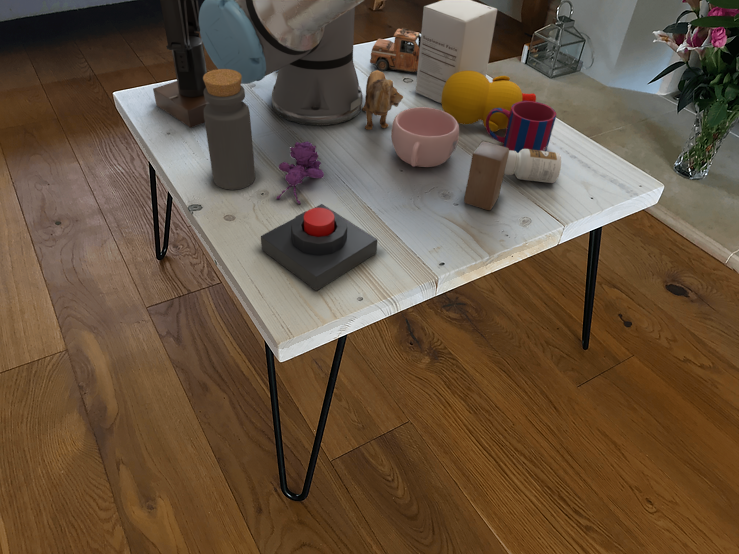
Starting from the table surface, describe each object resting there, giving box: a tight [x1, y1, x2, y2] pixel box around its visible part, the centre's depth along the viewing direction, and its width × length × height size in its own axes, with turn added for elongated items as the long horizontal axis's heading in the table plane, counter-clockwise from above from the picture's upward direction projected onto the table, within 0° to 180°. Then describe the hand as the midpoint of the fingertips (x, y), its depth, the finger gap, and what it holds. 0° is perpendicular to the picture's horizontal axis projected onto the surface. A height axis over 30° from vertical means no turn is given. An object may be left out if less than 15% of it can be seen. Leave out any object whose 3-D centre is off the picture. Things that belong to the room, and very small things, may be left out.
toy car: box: [369, 27, 421, 74], centre depth 114 cm, size 6×12×7 cm, turn 84°
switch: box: [304, 207, 334, 237], centre depth 71 cm, size 4×4×2 cm
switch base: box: [260, 203, 378, 292], centre depth 73 cm, size 10×10×4 cm
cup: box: [485, 101, 557, 153], centre depth 93 cm, size 7×10×7 cm
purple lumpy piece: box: [275, 140, 325, 205], centre depth 83 cm, size 7×6×8 cm
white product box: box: [414, 0, 498, 105], centre depth 103 cm, size 9×9×15 cm
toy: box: [441, 70, 537, 133], centre depth 98 cm, size 9×9×15 cm
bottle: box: [203, 68, 256, 191], centre depth 80 cm, size 6×6×15 cm
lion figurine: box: [361, 69, 404, 131], centre depth 98 cm, size 15×5×9 cm, turn 11°
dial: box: [171, 36, 208, 97], centre depth 95 cm, size 5×5×8 cm
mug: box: [390, 106, 460, 168], centre depth 89 cm, size 12×10×6 cm
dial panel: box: [152, 80, 209, 129], centre depth 99 cm, size 10×9×3 cm
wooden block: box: [463, 140, 509, 211], centre depth 82 cm, size 4×4×8 cm
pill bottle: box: [504, 149, 562, 184], centre depth 87 cm, size 4×4×8 cm
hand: (192, 80), depth 97 cm, fingers closed on dial, 5 cm apart
